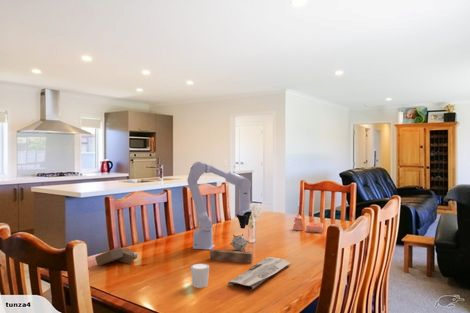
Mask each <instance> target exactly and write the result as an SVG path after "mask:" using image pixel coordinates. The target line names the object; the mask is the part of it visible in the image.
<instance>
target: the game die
mask: <svg viewBox="0 0 470 313" xmlns="http://www.w3.org/2000/svg"><path fill="white" fill-rule="evenodd" d="M247 243H249V240H247V239H246V238H245V236H244V233H242V235H235V234H233V238H232V241H231V243H229V245H232V247H233V248H234V251H243V252H246V246H247Z"/></svg>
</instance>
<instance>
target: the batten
mask: <svg viewBox="0 0 470 313" xmlns="http://www.w3.org/2000/svg"><path fill="white" fill-rule="evenodd" d="M209 253H210V254H209V259H210V260H211V261H220V262H221V261H222V262H231V263H232V262H233V263H234V262H235V263H245V264H247V263H248V264H252V262H253V252H251V251H250V252H249V251H240V250H236V251H235V250H222V249H221V250H220V249H211V250H209Z"/></svg>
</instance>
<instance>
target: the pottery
mask: <svg viewBox="0 0 470 313" xmlns="http://www.w3.org/2000/svg"><path fill="white" fill-rule="evenodd" d="M293 223H294V224H293V226H292V228H293V231H296V230H302V231H304V229H305V228H304V225H303V217H302V216H301V215H300V213H297V214H296V215H295V216H294V222H293ZM305 226H306V229H305V232H306V233H314V232H319V233H318V234H322V233H323V230H324V223H323V222H307V224H306V225H305Z"/></svg>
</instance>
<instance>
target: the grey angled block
mask: <svg viewBox="0 0 470 313" xmlns="http://www.w3.org/2000/svg"><path fill="white" fill-rule="evenodd" d="M138 255H139V254H138V252H136V251H135V252H134V251H133V250H132V249H131V248H128V247H124V246H123V247H119V248H118V247H117V248H112V250H108V251H105V252H103V253H100V254H99V255H96V256H95V261H96V264H97V266H102V265H106V264H109V263H111V262H114V261H118V262H122V263H125V264H127V265H132V264H133V259H134V258H137V257H139V256H138Z"/></svg>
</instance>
